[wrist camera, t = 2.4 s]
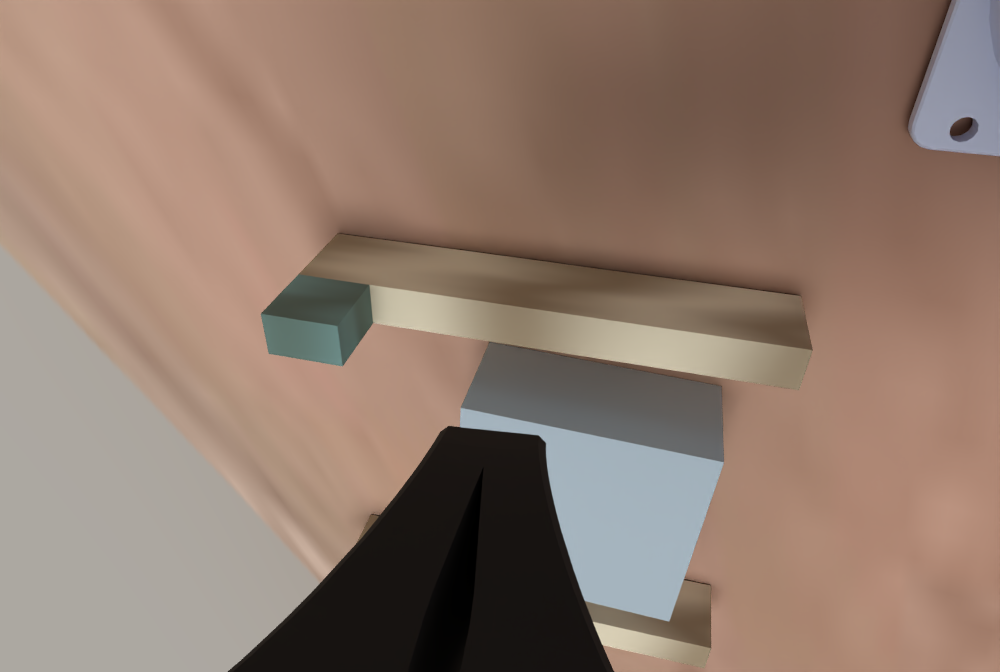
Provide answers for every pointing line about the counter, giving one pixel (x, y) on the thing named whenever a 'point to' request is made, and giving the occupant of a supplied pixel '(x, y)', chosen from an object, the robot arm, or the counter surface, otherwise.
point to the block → (612, 464)
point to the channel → (550, 346)
